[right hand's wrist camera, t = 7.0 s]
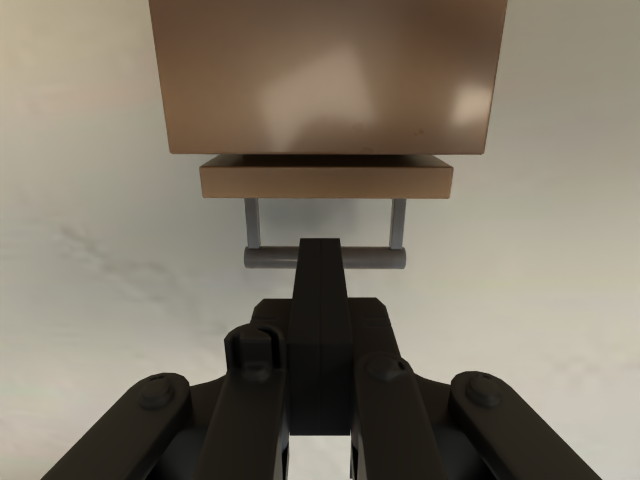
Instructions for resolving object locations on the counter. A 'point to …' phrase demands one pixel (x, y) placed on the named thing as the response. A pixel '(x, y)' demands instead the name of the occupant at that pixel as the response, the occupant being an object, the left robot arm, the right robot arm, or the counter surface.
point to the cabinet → (327, 75)
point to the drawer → (326, 194)
